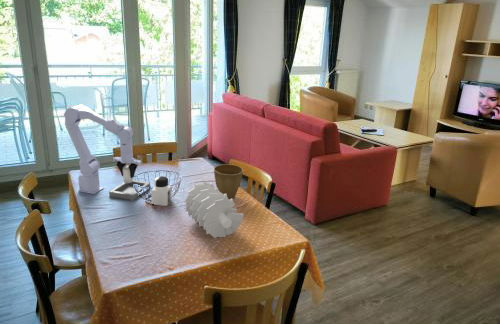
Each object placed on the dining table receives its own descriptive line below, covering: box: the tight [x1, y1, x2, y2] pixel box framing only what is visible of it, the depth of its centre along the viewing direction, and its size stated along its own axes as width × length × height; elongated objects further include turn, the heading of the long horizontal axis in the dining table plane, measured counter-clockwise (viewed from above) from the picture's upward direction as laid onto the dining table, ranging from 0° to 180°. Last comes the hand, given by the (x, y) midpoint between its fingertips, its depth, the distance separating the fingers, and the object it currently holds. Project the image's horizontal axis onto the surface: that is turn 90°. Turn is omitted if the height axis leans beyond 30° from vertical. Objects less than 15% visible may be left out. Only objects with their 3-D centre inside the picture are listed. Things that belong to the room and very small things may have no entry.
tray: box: [108, 179, 151, 202], centre depth 195 cm, size 13×17×3 cm
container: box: [150, 175, 172, 207], centre depth 185 cm, size 8×8×13 cm
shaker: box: [122, 164, 134, 183], centre depth 190 cm, size 4×4×8 cm
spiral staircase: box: [184, 181, 245, 239], centre depth 164 cm, size 18×18×25 cm
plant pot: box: [213, 163, 244, 200], centre depth 193 cm, size 15×15×16 cm
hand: (128, 176), depth 191 cm, fingers closed on shaker, 4 cm apart
